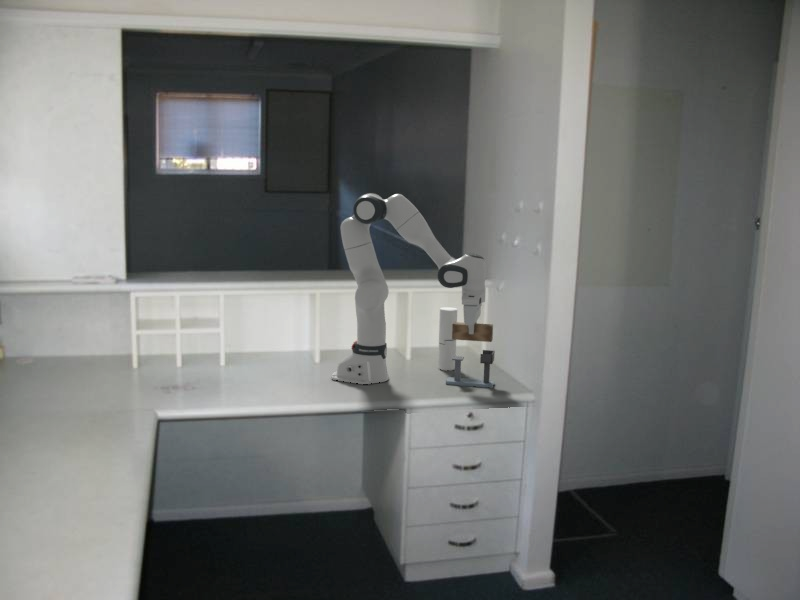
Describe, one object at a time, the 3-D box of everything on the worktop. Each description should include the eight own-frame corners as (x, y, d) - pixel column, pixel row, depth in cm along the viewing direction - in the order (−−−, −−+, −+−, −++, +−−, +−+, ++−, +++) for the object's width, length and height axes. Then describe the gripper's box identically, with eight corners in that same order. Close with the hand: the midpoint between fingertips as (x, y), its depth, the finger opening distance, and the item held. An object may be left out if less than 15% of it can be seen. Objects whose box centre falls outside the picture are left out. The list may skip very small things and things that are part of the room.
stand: (445, 384, 307) (446, 351, 304) (448, 379, 313) (449, 347, 311) (492, 388, 303) (493, 355, 300) (494, 383, 309) (495, 350, 307)
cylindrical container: (454, 371, 326) (456, 310, 321) (436, 369, 327) (438, 309, 322) (456, 366, 333) (458, 307, 328) (439, 365, 334) (441, 306, 329)
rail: (452, 339, 305) (452, 324, 303) (453, 337, 308) (453, 322, 307) (491, 341, 301) (492, 326, 300) (492, 339, 305) (493, 324, 304)
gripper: (468, 291, 312) (467, 326, 315) (461, 300, 293) (460, 337, 295) (485, 292, 311) (483, 327, 313) (478, 301, 291) (477, 338, 294)
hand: (472, 332), depth 304 cm, fingers closed on rail, 4 cm apart
